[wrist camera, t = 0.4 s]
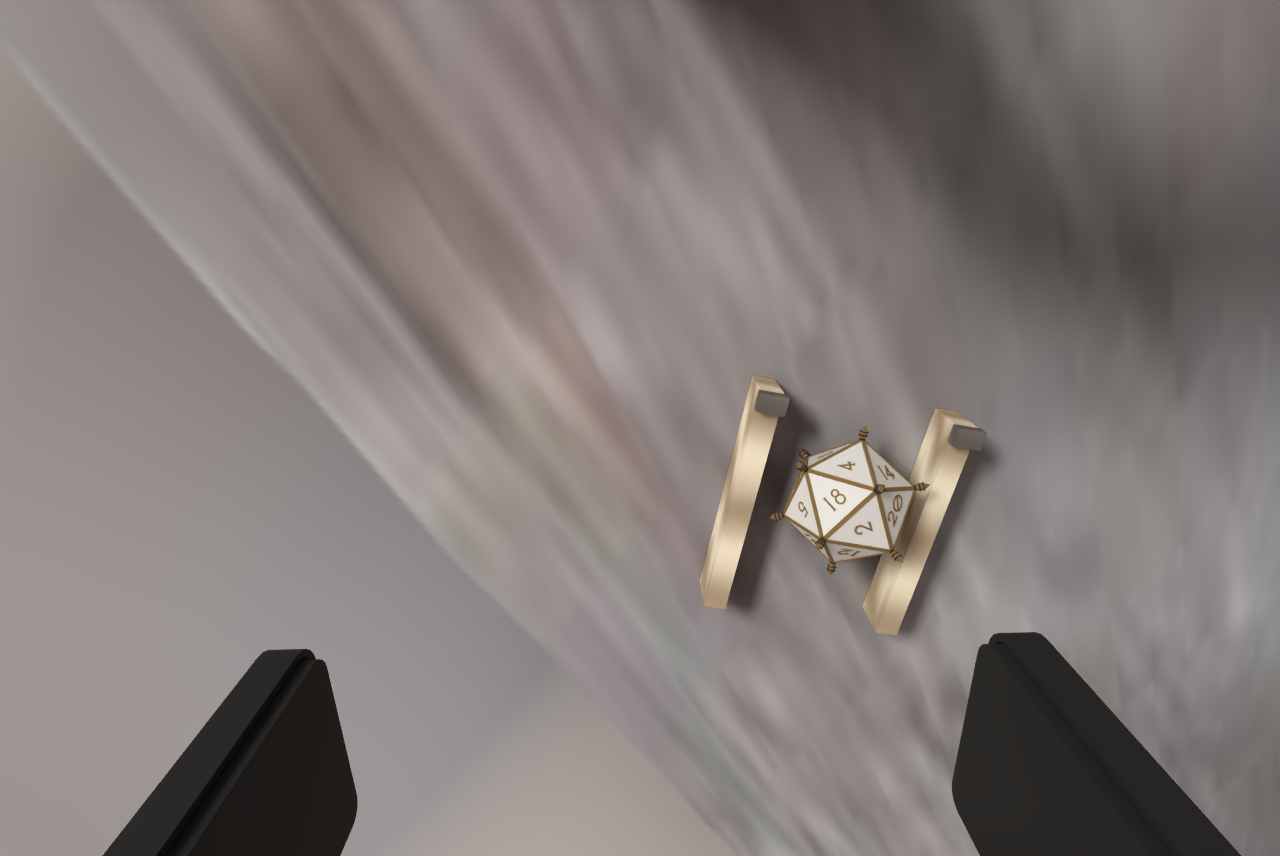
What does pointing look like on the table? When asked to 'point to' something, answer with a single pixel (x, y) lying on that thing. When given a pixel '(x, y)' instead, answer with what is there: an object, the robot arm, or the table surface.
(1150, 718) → the table surface
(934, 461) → the parallel beige rails
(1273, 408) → the table surface
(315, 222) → the table surface
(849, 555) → the game die
